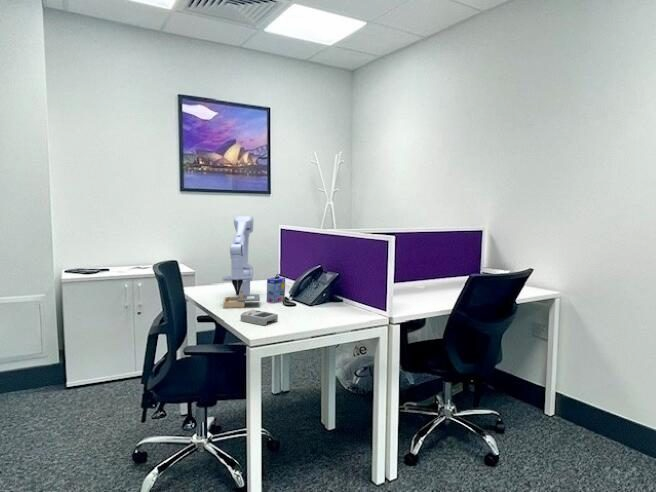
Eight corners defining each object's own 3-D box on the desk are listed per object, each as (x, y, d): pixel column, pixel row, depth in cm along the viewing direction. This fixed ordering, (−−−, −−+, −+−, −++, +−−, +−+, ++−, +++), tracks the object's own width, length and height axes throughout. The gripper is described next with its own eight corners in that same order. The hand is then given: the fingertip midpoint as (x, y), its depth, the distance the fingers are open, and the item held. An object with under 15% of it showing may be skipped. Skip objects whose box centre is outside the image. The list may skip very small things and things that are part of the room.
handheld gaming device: (253, 317, 201) (252, 308, 200) (278, 322, 192) (278, 313, 192) (238, 321, 193) (238, 313, 193) (264, 327, 185) (264, 318, 185)
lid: (238, 296, 228) (238, 289, 227) (259, 295, 230) (259, 289, 229) (238, 301, 216) (238, 294, 215) (259, 300, 217) (259, 294, 217)
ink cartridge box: (275, 303, 226) (275, 275, 225) (266, 302, 229) (266, 274, 228) (285, 300, 235) (285, 272, 234) (277, 298, 238) (277, 272, 236)
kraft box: (225, 302, 227) (224, 297, 226) (244, 302, 228) (244, 296, 228) (223, 308, 215) (223, 302, 215) (244, 307, 217) (244, 301, 216)
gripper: (221, 269, 215) (222, 297, 216) (252, 268, 217) (252, 296, 219) (222, 267, 222) (223, 294, 223) (252, 266, 224) (252, 293, 226)
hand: (237, 294), depth 221 cm, fingers closed
